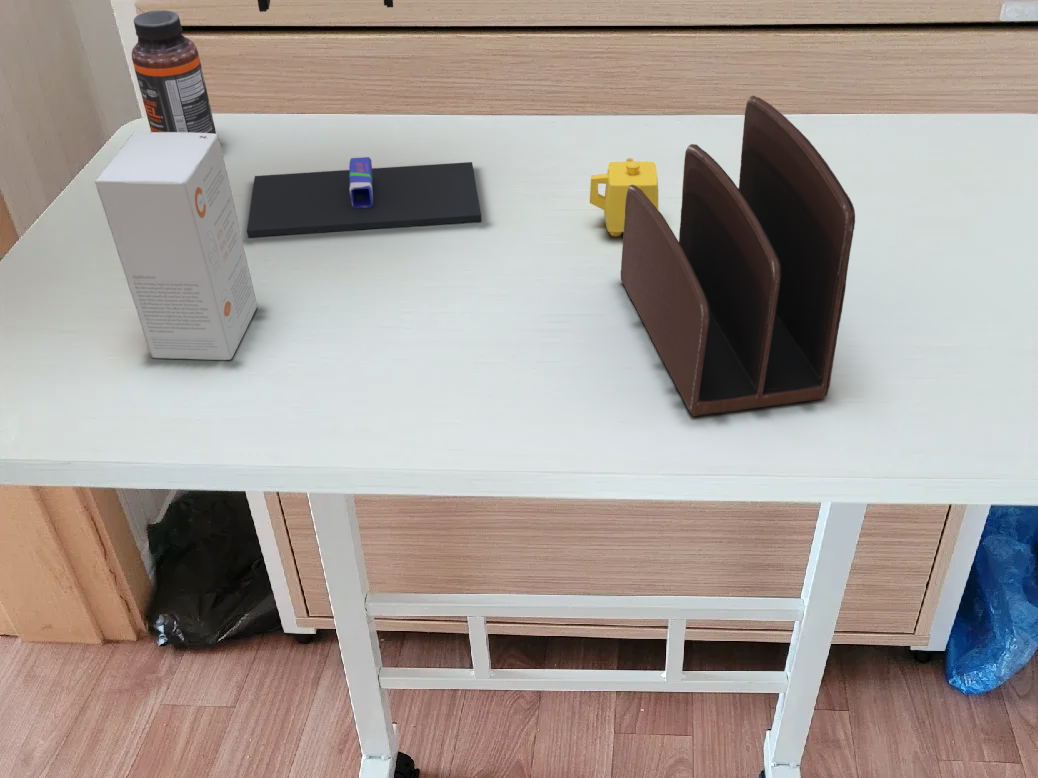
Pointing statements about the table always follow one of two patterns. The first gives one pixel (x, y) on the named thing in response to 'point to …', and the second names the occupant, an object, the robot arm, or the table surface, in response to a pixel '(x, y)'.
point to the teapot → (623, 190)
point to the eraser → (361, 182)
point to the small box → (179, 243)
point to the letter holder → (745, 271)
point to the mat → (395, 204)
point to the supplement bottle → (170, 75)
